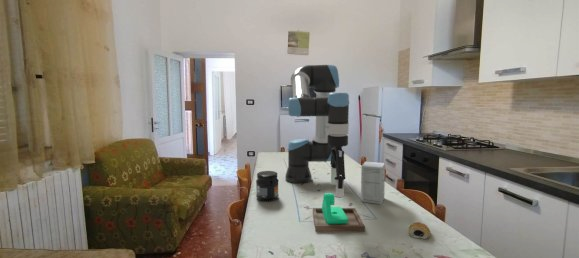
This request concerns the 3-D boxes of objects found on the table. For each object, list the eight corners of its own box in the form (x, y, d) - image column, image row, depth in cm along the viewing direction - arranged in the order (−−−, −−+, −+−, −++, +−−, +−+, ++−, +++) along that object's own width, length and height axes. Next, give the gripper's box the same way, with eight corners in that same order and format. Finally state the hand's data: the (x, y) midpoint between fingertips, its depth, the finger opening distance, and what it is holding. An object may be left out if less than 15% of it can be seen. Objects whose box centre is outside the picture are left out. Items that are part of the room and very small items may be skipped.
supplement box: (384, 197, 133) (385, 162, 131) (382, 204, 125) (383, 167, 123) (364, 195, 137) (364, 161, 135) (360, 201, 129) (361, 165, 127)
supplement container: (281, 195, 137) (281, 171, 136) (273, 203, 127) (273, 177, 126) (262, 193, 141) (261, 169, 139) (252, 200, 131) (251, 175, 129)
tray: (312, 212, 117) (312, 207, 117) (354, 212, 116) (355, 208, 116) (315, 231, 100) (315, 226, 100) (364, 231, 100) (364, 226, 100)
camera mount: (348, 226, 103) (348, 198, 101) (327, 226, 102) (327, 199, 101) (340, 212, 114) (341, 188, 113) (321, 213, 114) (322, 188, 113)
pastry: (410, 226, 105) (410, 216, 104) (430, 230, 102) (431, 219, 101) (407, 237, 96) (408, 226, 96) (430, 241, 93) (430, 230, 93)
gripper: (324, 129, 117) (323, 179, 120) (331, 140, 92) (331, 202, 95) (342, 129, 117) (341, 179, 120) (355, 140, 92) (353, 202, 95)
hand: (336, 189), depth 107 cm, fingers open, 13 cm apart
